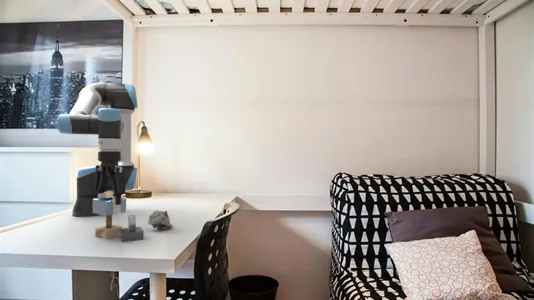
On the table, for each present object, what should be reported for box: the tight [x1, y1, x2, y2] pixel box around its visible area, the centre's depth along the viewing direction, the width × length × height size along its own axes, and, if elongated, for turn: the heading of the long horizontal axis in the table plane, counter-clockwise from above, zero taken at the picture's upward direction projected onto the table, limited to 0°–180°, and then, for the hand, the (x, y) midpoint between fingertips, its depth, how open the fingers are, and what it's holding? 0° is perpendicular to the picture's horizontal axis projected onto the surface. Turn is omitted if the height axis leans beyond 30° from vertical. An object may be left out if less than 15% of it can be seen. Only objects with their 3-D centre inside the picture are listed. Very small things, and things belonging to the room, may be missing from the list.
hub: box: [120, 214, 145, 243], centre depth 109 cm, size 7×7×8 cm
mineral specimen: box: [147, 210, 173, 230], centre depth 123 cm, size 10×8×10 cm
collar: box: [92, 195, 127, 217], centre depth 113 cm, size 8×8×5 cm
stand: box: [94, 215, 123, 240], centre depth 113 cm, size 6×6×8 cm
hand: (109, 211), depth 113 cm, fingers closed on collar, 8 cm apart
